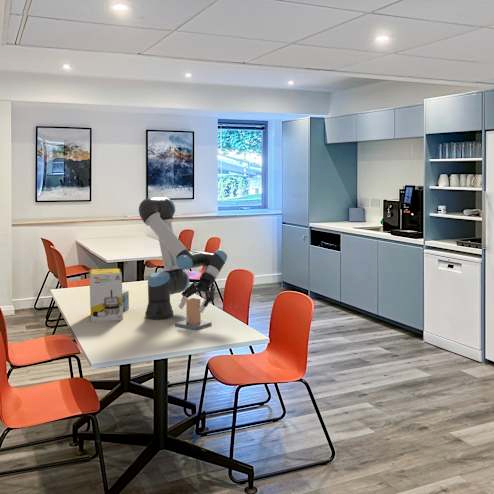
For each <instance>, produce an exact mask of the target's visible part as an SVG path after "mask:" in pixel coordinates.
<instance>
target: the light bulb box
mask: <svg viewBox="0 0 494 494" xmlns="http://www.w3.org/2000/svg"><path fill="white" fill-rule="evenodd" d="M129 293H130V292H129V290H124V289H122V305H123V313H124V312H126V311H128V310H129V309H130V303H129V301H130V297H129Z"/></svg>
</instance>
